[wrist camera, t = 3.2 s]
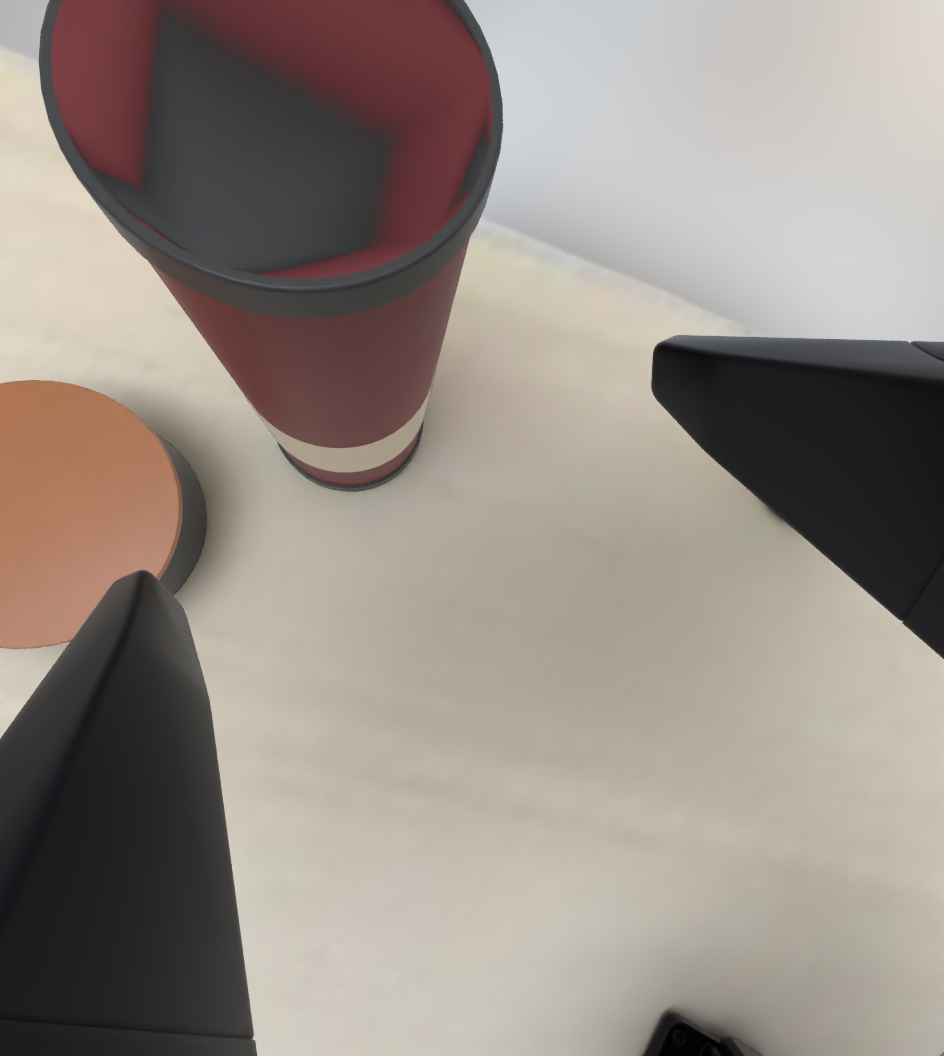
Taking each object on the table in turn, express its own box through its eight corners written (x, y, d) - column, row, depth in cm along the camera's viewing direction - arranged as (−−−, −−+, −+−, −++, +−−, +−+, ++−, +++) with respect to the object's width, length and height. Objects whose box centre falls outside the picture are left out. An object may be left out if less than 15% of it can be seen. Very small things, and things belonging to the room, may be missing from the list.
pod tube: (370, 519, 19) (349, 381, 6) (243, 437, 19) (-79, 91, 6) (448, 405, 20) (578, 70, 7) (330, 324, 20) (230, -199, 7)
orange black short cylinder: (116, 682, 17) (63, 702, 14) (-97, 555, 17) (-199, 549, 14) (256, 493, 19) (233, 477, 16) (64, 369, 18) (3, 328, 15)
